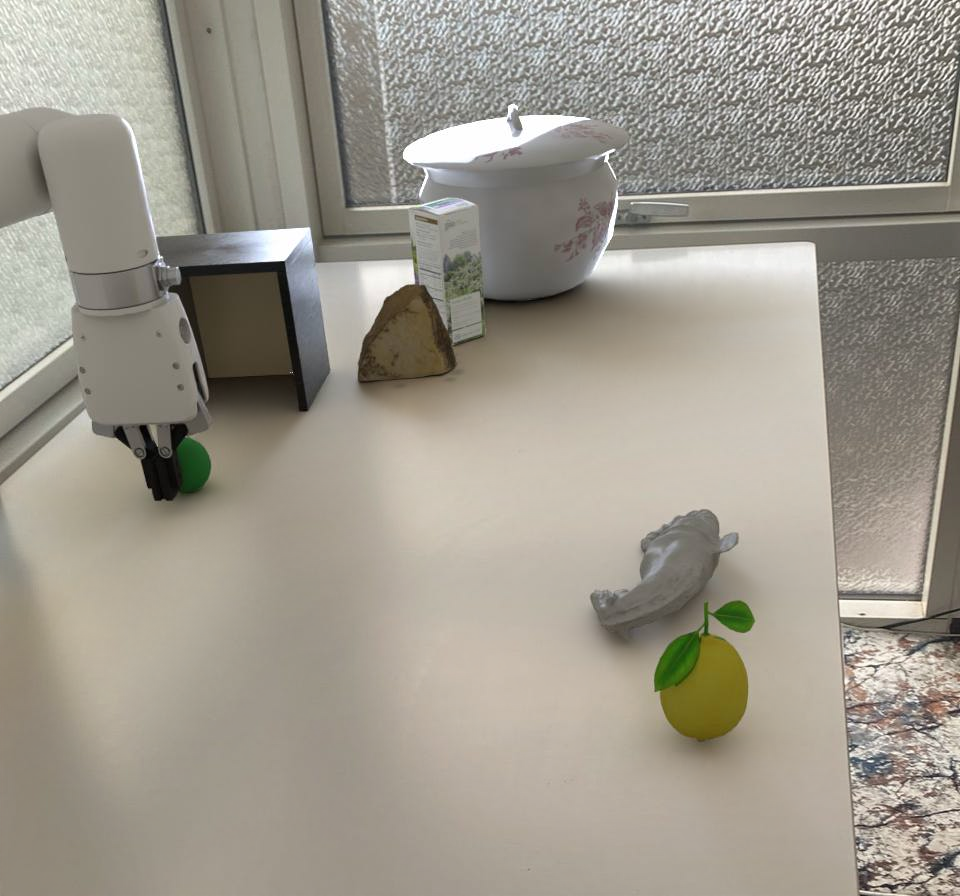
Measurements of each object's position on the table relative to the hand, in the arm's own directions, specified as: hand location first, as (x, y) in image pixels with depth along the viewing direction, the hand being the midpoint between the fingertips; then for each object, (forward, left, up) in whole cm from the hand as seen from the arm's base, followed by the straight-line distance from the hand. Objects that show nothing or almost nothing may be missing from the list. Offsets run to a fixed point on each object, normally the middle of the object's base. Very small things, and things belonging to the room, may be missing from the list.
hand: (167, 494), depth 122 cm
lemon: (+47, -39, -2) cm, 61 cm away
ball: (+1, +4, +1) cm, 5 cm away
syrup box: (+21, +47, -2) cm, 51 cm away
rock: (+17, +35, -2) cm, 39 cm away
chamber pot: (+28, +67, -2) cm, 72 cm away
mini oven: (-1, +31, -1) cm, 31 cm away
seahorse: (+45, -18, -2) cm, 48 cm away
